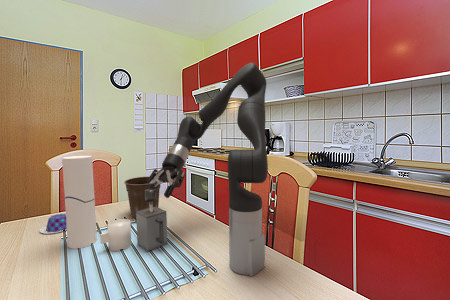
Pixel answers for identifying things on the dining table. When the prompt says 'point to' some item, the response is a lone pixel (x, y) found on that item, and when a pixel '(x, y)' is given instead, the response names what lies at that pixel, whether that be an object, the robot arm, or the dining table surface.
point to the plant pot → (139, 194)
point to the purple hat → (55, 224)
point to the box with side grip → (151, 228)
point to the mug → (117, 235)
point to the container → (79, 201)
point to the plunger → (150, 197)
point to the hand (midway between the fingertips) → (156, 195)
